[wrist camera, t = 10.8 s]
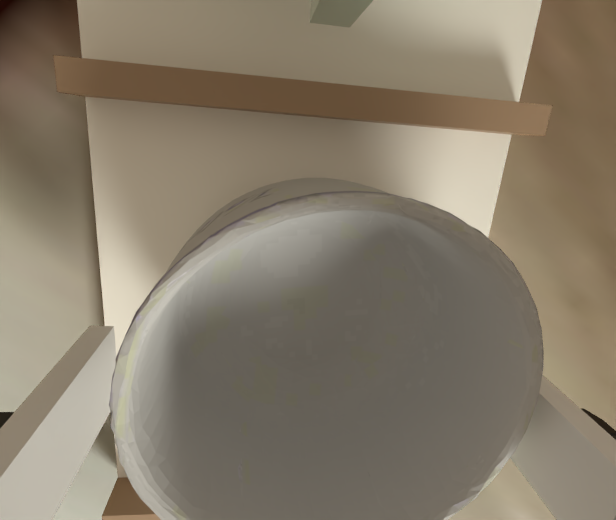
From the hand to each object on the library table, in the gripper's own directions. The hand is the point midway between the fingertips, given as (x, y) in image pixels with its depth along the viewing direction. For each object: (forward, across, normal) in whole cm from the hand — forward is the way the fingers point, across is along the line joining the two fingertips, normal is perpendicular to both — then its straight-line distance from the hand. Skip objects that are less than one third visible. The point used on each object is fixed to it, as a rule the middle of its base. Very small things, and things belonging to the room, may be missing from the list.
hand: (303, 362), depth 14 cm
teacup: (+3, 0, 0) cm, 3 cm away
